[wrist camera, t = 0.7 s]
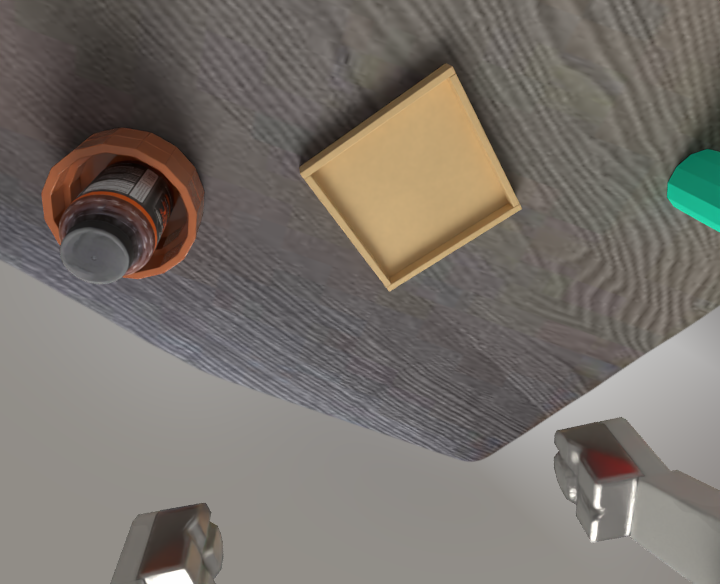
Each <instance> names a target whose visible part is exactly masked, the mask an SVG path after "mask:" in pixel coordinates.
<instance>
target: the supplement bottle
mask: <svg viewBox="0 0 720 584" xmlns="http://www.w3.org/2000/svg"><path fill="white" fill-rule="evenodd" d="M173 205H174V199H173V193H172V190H171V187H170V185H169V183H168V181H167V180H166V178H165V177H164V176H163V175H162V174H161V173H160V172H158V171H157V170H156V169H154V168H153V167H151V166H149V165H147V164H145V163H142V162H138V161H129V160H127V161H120V162H116V163H113V164H111V165H109V166H108V167H106V168H105V169H104V170H103V171H102V172H100V173H99V175H98V176H97V177H96V178H95V179H94V180H93V181H92V182H91V183H90V184H89V185H88V186H87V187H86V188H85V189H84V190H83V191H82V192H81V193H80V194H79V195H78V196H77V198H76V199H75V200H74V201H73V202H72V203H71V204H70V205H69V206H68V207H67V209H66V210H65V211H64V213H63V215H62V217H61V219H60V223H59V238H60V241H61V245H60V257H61V260H62V262H63V264H64V265H65V267H66V268H67V270H68V271H69V272H70V273H72V274H73V275H74V276H76V277H77V278H79V279H81V280H83V281H86V282H88V283H93V284H108V283H112V282H115V281H117V280H119V279H120V278H121V277H123V276H126V275H129V274H132V273H134V272H136V271H138V270H139V269H141V268H142V267H144V266H145V265H146V263H147V262H148V261H149V260H150V258H151V257H152V255H153V253H154V251H155V249H156V247H157V245H158V242H159V240H160V238H161V235H162V234H163V231H164V229H165V227H166V225H167V223H168V221H169V218H170V216H171V213H172V211H173Z"/></svg>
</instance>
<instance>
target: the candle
mask: <svg viewBox="0 0 720 584" xmlns="http://www.w3.org/2000/svg"><path fill="white" fill-rule="evenodd" d="M667 198H668V199H669V201H670V202H671V203H672V205H673V206H674V207H675V208H677V209H679V210H681V211H682V212H684V213H686V214H688V215H690V216H691V217H693V218H695V219H697V220H699V221H700V222H702V223H704V224H706V225H707V226H709V227H711V228H713V229H715V230H716V231H718V232H720V152H719V151H715V150H710V149H705V150H702V151H700V152H697V153H694V154H691V155H690V156H689V157H688V158H686V159H685V160H684V161H683V162H682V163H681V164H679V165H678V166H677V167H676V169H675V171H674V172H673V174H672V176H671V178H670V180H669V182H668V188H667Z"/></svg>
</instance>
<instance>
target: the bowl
mask: <svg viewBox="0 0 720 584" xmlns="http://www.w3.org/2000/svg"><path fill="white" fill-rule="evenodd" d="M127 160H129V161H138V162H142V163H145V164H147V165H149V166H151V167H153V168H154V169H156V170H157V171H158V172H160V173H161V174H162V175H163V176H164V177H165V178H166V180H167V181H168V183H169V185H170V187H171V190H172V193H173V199H174V205H173V211H172V213H171V216H170V218H169V221H168V223H167V225H166V227H165V229H164V231H163V234H162V235H161V238H160V240H159V242H158V245H157V247H156V249H155V251H154V253H153V255H152V257H151V258H150V260H149V261H148V262H147V263H146V265H145V266H144V267H142V268H141V269H139V270H138V271H136V272H134V273H132V274H129V275H126V276H123V277H124V278H134V279H141V278H145V277H149V276H154V275H158V274H162V273H165V272H166V271H168V270H169V269H171V268H172V267H173V266H175V265H176V264H178V263H179V262H181V261H182V260H183V259H184V258H185V257H186V255H187V253H188V251H189V249H190V248H191V246H192V244H193V242H194V241H195V239H196V235H197V232H198V229H199V226H200V223H201V220H202V216H203V209H204V189H203V187H202V184H201V182H200V179H199V176H198V174H197V171H196V168H195V167H194V166H193V165H192V164H191V162H190V161H189V160H188V159H187V158H186V157H185V156H184V155H183V153H182V152H181V151H180V150H179V149H178V148H177V147H176V146H174V145H173V144H171V143H169V142H167V141H165V140H164V139H162V138H160V137H158V136H156V135H155V134H153V133H150V132H146V131H140V130H134V129H128V128H115V129H111V130H107V131H102V132H98V133H95V134H93V135H91V136H90V137H89V138H88V139H86V140H85V141H84V142H83V143H81V144H80V145H79V146H78V147H76V148H75V149H74V150H73V151H71V152H70V153H69V154H68V155H67V156H65V157H64V158H63V159H62V160H60V161H59V162H58V163H57V164H55V165H54V166H53V167H52V168H51V170H50V172H49V175H48V177H47V180H46V182H45V185H44V188H43V190H42V193H41V194H42V202H43V210H44V219H45V221H46V223H47V225H48V226H49V228H50V230H51V231H52V233H53V235H54V237H55V238H56V240H57V242H58V243H59V245H61V241H60V238H59V223H60V219H61V217H62V215H63V213H64V211H65V210H66V209H67V207H68V206H69V205H70V204H71V203H72V202H73V201H74V200H75V199H76V198H77V196H78V195H79V194H80V193H81V192H82V191H83V190H84V189H85V188H86V187H87V186H88V185H89V184H90V183H91V182H92V181H93V180H94V179H95V178H96V177H97V176H98V175H99V173H100V172H102V171H103V170H104V169H105V168H106V167H108V166H109V165H111V164H113V163H116V162H120V161H127Z"/></svg>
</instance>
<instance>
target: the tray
mask: <svg viewBox="0 0 720 584" xmlns="http://www.w3.org/2000/svg"><path fill="white" fill-rule="evenodd" d="M299 169H300V174H301V176H302V177H303V178H304V179H305V181H306V182H307V184H308V185H309V186H310V188H311V189H312V190H313V191H314V193H315V194H316V195H317V197H318V198H319V199H320V201H321V202H322V203H323V205H324V206H325V207H326V209H327V210H328V211H329V213H330V214H331V215H332V217H333V218H334V219H335V221H336V222H337V223H338V224H339V226H340V227H341V228H342V230H343V231H344V232H345V234H346V235H347V236H348V238H349V239H350V240H351V242H352V243H353V244H354V246H355V247H356V248H357V250H358V251H359V252H360V254H361V255H362V256H363V257H364V259H365V260H366V261H367V263H368V264H369V265H370V267H371V268H372V269H373V271H374V272H375V273H376V275H377V276H378V277H379V279H380V280H381V281H382V283H383V284H384V285H385V287H386V288H387V289H388V290H389V291H391V290H392V289H394V288H396V287H397V286H399V285H400V284H402V283H404V282H405V281H407V280H408V279H410V278H412V277H413V276H415V275H417V274H418V273H420V272H421V271H423V270H425V269H426V268H428V267H429V266H431V265H433V264H434V263H436V262H437V261H439V260H441V259H442V258H444V257H445V256H447V255H449V254H450V253H452V252H453V251H455V250H457V249H458V248H460V247H461V246H463V245H465V244H466V243H468V242H469V241H471V240H473V239H474V238H476V237H477V236H479V235H481V234H482V233H484V232H485V231H487V230H489V229H490V228H492V227H493V226H495V225H497V224H498V223H500V222H501V221H503V220H505V219H506V218H508V217H509V216H511V215H513V214H514V213H516V212H517V211H519V210H521V209H522V208H521V206H520V204H519V202H518V199H517V197H516V195H515V193H514V191H513V189H512V187H511V185H510V183H509V181H508V179H507V177H506V175H505V173H504V171H503V169H502V167H501V165H500V163H499V161H498V159H497V156H496V154H495V152H494V150H493V148H492V146H491V144H490V142H489V140H488V138H487V136H486V134H485V132H484V130H483V128H482V126H481V124H480V122H479V120H478V118H477V115H476V113H475V111H474V109H473V107H472V105H471V103H470V101H469V99H468V97H467V95H466V93H465V91H464V89H463V87H462V85H461V83H460V81H459V79H458V77H457V75H456V73H455V70H454V68H453V66H451V65H449V64H446V63H445V64H444V65H443V66H441V67H440V68H438V69H437V70H436V71H434V72H433V73H431V74H430V75H428V76H427V77H426V78H424V79H423V80H421V81H420V82H419V83H417V84H416V85H414V86H413V87H412V88H410V89H409V90H407V91H406V92H404V93H403V94H402V95H400V96H399V97H397V98H396V99H395V100H393V101H392V102H390V103H389V104H388V105H386V106H385V107H383V108H382V109H381V110H379V111H378V112H376V113H375V114H373V115H372V116H371V117H369V118H368V119H366V120H365V121H364V122H362V123H361V124H359V125H358V126H357V127H355V128H354V129H352V130H351V131H349V132H348V133H347V134H345V135H344V136H342V137H341V138H340V139H338V140H337V141H335V142H334V143H333V144H331V145H330V146H328V147H327V148H326V149H324V150H323V151H321V152H320V153H318V154H317V155H316V156H314V157H313V158H311V159H310V160H309V161H307V162H306V163H304V164H303V165H302V166H300V167H299Z"/></svg>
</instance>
